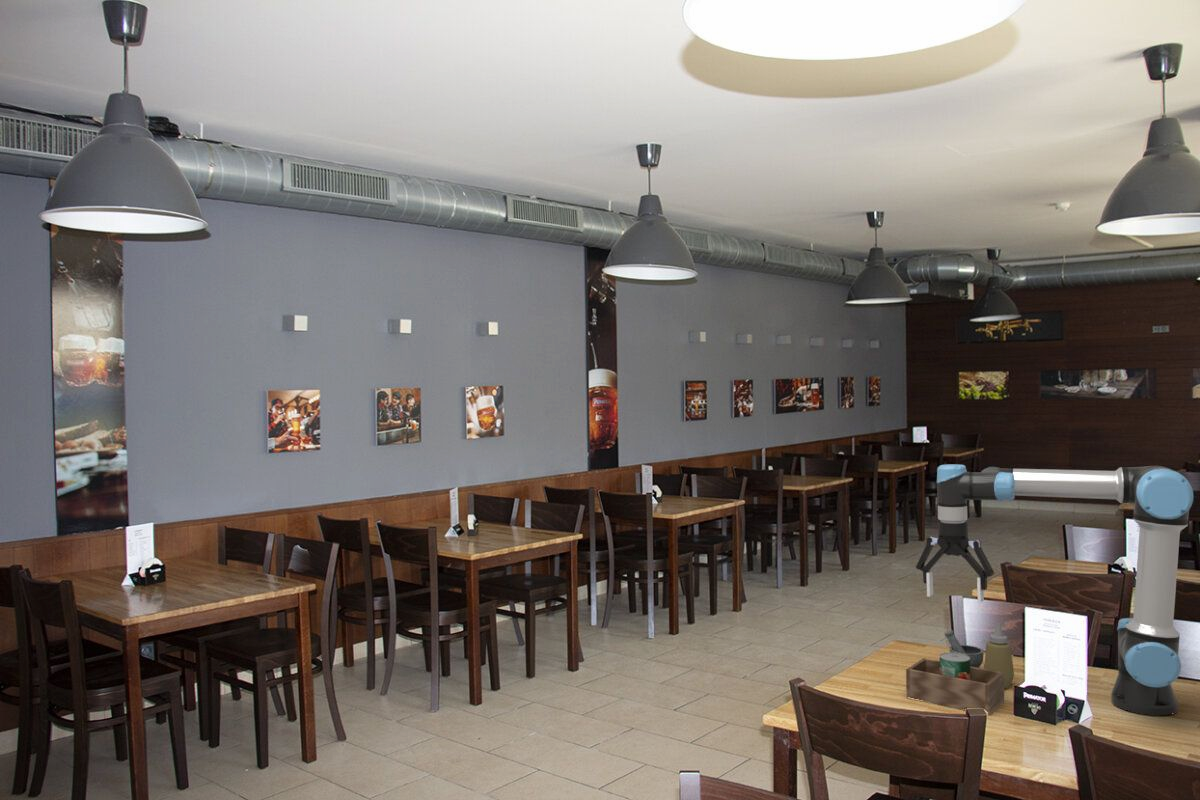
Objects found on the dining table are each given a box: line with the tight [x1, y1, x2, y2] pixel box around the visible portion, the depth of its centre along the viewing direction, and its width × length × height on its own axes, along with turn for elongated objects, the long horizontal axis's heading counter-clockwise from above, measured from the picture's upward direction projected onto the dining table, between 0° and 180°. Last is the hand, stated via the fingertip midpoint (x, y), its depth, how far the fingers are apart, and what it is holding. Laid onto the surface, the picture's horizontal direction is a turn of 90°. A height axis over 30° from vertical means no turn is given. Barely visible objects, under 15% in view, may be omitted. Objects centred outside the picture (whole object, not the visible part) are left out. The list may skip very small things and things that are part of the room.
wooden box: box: [905, 657, 1005, 717], centre depth 246 cm, size 22×13×8 cm, turn 50°
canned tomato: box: [939, 651, 970, 680], centre depth 246 cm, size 8×8×11 cm
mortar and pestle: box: [944, 629, 984, 668], centre depth 270 cm, size 11×9×12 cm
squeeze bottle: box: [983, 622, 1015, 690], centre depth 257 cm, size 8×8×18 cm
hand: (955, 598), depth 246 cm, fingers open, 13 cm apart
